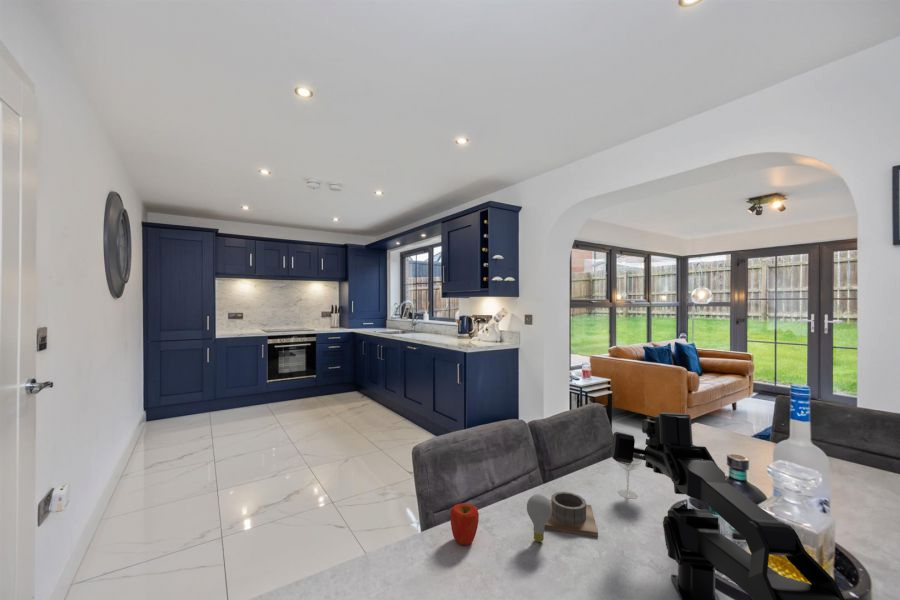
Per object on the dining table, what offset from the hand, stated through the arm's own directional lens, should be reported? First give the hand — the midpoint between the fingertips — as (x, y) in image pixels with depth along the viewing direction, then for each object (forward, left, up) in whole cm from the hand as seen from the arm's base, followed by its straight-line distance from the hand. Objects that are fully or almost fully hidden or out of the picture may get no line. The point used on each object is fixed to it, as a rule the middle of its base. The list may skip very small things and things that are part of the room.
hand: (640, 446), depth 95 cm
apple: (-21, +41, -17) cm, 49 cm away
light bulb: (-17, +25, -17) cm, 35 cm away
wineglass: (+11, +1, -17) cm, 20 cm away
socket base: (-6, +18, -17) cm, 25 cm away
